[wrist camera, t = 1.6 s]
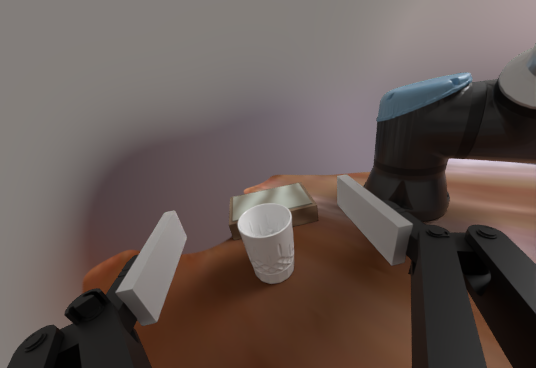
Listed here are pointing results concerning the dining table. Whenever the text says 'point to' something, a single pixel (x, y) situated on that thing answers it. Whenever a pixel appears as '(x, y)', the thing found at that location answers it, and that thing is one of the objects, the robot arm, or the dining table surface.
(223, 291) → the dining table surface
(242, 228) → the white cup
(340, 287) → the dining table surface
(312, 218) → the board
